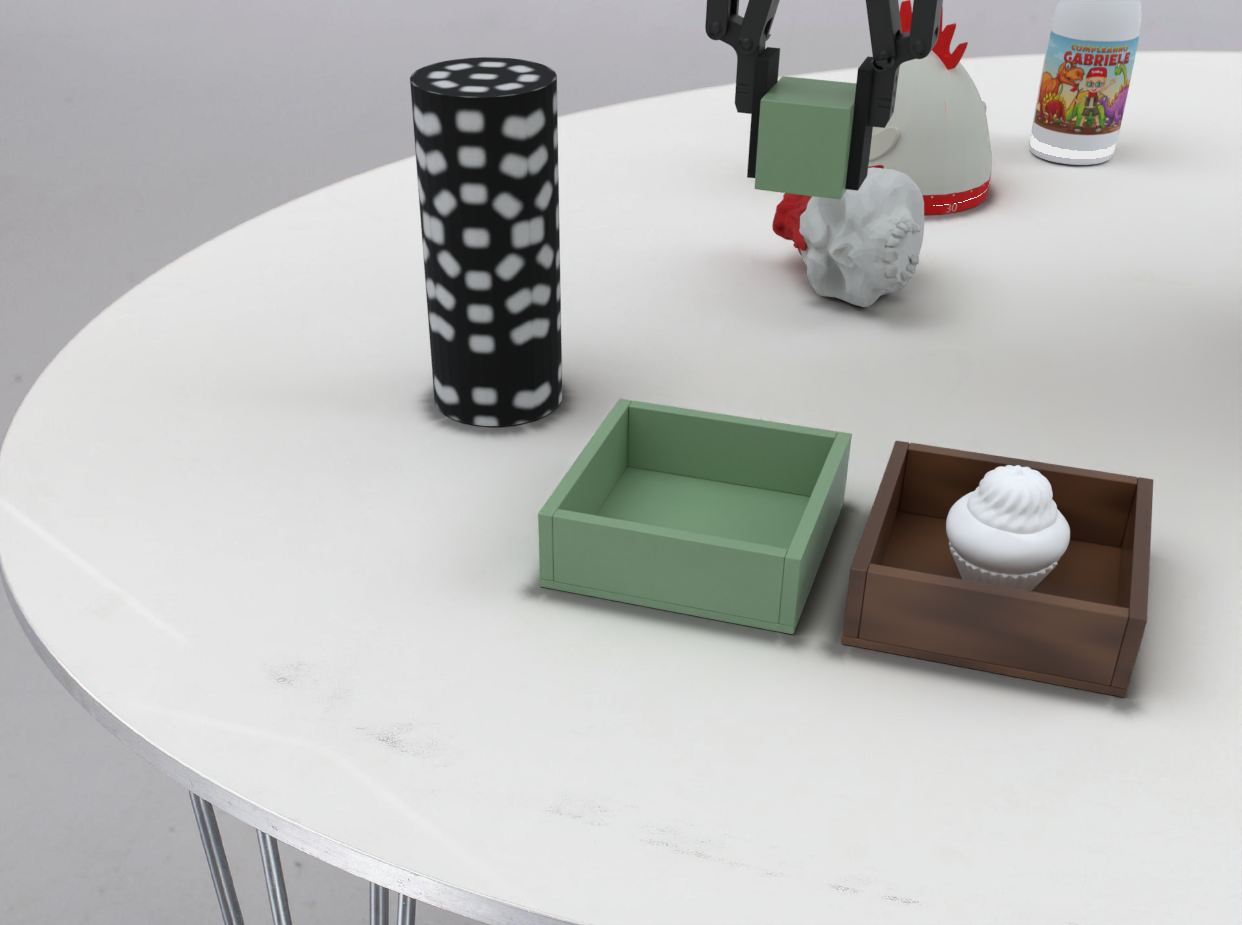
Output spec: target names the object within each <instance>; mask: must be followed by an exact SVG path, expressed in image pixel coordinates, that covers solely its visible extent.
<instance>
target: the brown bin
mask: <svg viewBox="0 0 1242 925" xmlns="http://www.w3.org/2000/svg"><path fill="white" fill-rule="evenodd" d="M1007 465H1011V466H1016V465H1019V466H1021V467H1029V468H1031V469H1032V470H1036V471H1038V472H1040V473H1041V474H1042V475H1043V476H1044V477H1045V478H1046V479H1047V480H1048V481H1049V483H1050V485H1051V488H1052V493H1053V497H1052V499H1053V501H1054V502H1055V503H1056V505H1057V509H1058V510H1059V511H1060V513H1061V514H1062V515H1063V516H1064V518H1065V519H1066V521H1067V523H1068V525H1069V528H1070V540H1069V544H1068V547H1067V549H1066V551H1065V552H1064V554H1063V555H1062V556H1061V557H1060V560H1059V561H1058V562H1057V563H1058V564H1057V566H1056V567H1055V568H1054V569H1053V570H1052V571H1051V572H1050V573H1049V574H1048V575H1047V576H1046V577H1045V578H1044V579H1043V580H1042V581H1041V582H1040V583H1039V584H1038V585H1037V586H1036V587H1035V588H1034V589H1033V590H1032V591H1025V590H1020V589H1014V588H1008V587H1002V586H997V585H991V584H985V583H979V582H974V581H968V580H963V579H962V577H961V575H960V572H959V570H958V568H957V565H956V563H955V560H954V558H953V556H952V553H951V551H950V546H949V542H950V541H949V539H948V536H947V532H946V521H947V516H948V513H949V511H950V509H951V508H952V506H953V505H954V504H955V503H956V502H957V501H958V500H959V499H961V498H962V497H963V496H965V495H967V494H968V493H970V492H973V491H975V490H976V488H977V487H979V483H980V481H981V480H982V479H983V478H984V476H985V474H986V473H988V472H989V471H991V470H995V468H997V467H1000V466H1003V467H1005V466H1007ZM1153 498H1154V479H1153V478H1149V477H1148V478H1146V477H1142V476H1134V475H1128V474H1122V473H1121V474H1120V473H1114V472H1107V471H1100V470H1096V469H1095V470H1094V469H1089V468H1080V467H1074V466H1068V465H1062V464H1057V463H1056V464H1055V463H1048V462H1043V461H1035V460H1028V459H1023V458H1022V459H1021V458H1016V457H1009V456H1002V455H1001V456H1000V455H995V454H990V453H989V454H988V453H983V452H976V451H970V450H964V449H963V450H962V449H956V448H951V447H944V446H943V447H942V446H937V445H930V444H922V443H917V442H909V441H902V440H895V441H894V444H893V447H892V449H891V452H890V455H889V458H888V461H887V464H886V467H885V469H884V472H883V475H882V477H881V481H880V483H879V486H878V489H877V492H876V494H875V498H874V501H873V504H872V506H871V510H870V512H869V515H868V518H867V520H866V524H865V527H864V530H863V532H862V535H861V538H860V540H859V544H858V546H857V550H856V551H855V552H856V553H855V555H854V558H853V561H852V563H851V566H850V569H849V570H850V571H849V578H848V586H847V593H846V602H845V610H844V618H843V624H842V625H843V626H842V635H841V642H840V644H842V645H846V646H852V647H857V648H863V649H868V650H873V651H877V652H878V651H879V652H884V653H888V654H894V655H900V656H903V657H909V658H915V659H921V660H925V661H931V662H936V663H941V664H946V665H952V666H958V667H962V668H967V669H972V670H979V671H984V672H990V673H995V674H999V675H1005V676H1010V677H1014V678H1015V677H1016V678H1020V679H1025V680H1029V681H1037V682H1043V683H1047V684H1051V685H1056V686H1057V685H1058V686H1062V687H1068V688H1073V689H1078V690H1083V691H1089V692H1095V693H1099V694H1104V695H1110V696H1115V697H1120V698H1127V695H1128V691H1129V688H1130V683H1131V680H1132V676H1133V673H1134V669H1135V666H1136V663H1137V658H1138V655H1139V651H1140V648H1141V645H1142V640H1143V637H1144V634H1145V630H1146V627H1147V624H1148V611H1149V610H1148V609H1149V608H1148V607H1149V586H1150V569H1151V568H1150V567H1151V546H1152V544H1151V543H1152V523H1153V522H1152V520H1153V500H1154V499H1153Z"/></svg>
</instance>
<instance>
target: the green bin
mask: <svg viewBox="0 0 1242 925" xmlns="http://www.w3.org/2000/svg"><path fill="white" fill-rule="evenodd" d="M852 437H853V433H851V432H844V431H837V430H830V429H824V428H817V427H810V426H804V425H798V424H797V425H796V424H790V423H786V422H785V423H784V422H778V421H771V420H764V419H758V418H751V417H746V416H745V417H744V416H740V415H739V416H738V415H731V414H724V413H720V412H719V413H717V412H713V411H705V410H698V409H692V408H687V407H686V408H685V407H679V406H671V405H665V404H659V403H653V402H646V401H645V402H644V401H641V400H639V401H638V400H631V399H627V398H618V400H617V402H616V403H615V404H614V405H613V407H612V409H611V410H610V412H609V413H608V414H607V415H606V417H605V419H604V420H602V422H601V424H600V425H599V427H598V428H597V429H596V430H595V432H594V434H593V435H592V436H591V438H590V439H589V441H588V443H587V444H586V445H585V446H584V448H583V449H582V451H581V452H580V454H579V455H578V456H577V458H576V459H575V461H574V462H573V464H572V465H571V466H570V467H569V469H568V470H567V471H566V473H565V475H564V476H563V478H562V479H561V480H560V482H559V483H558V485H557V486H556V487H555V489H554V490H553V492H552V493H551V494H550V496H549V497H548V499H547V500H546V501H545V503H544V505H543V506H542V508H540V510H539V512H538V513H537V524H538V525H537V526H538V528H537V529H538V530H537V531H538V560H539V561H538V562H539V564H538V565H539V586H540V588H547V589H551V590H557V591H560V592H561V591H563V592H567V593H571V594H576V595H577V594H578V595H582V596H583V595H584V596H587V597H588V596H589V597H594V598H599V599H604V600H609V601H613V602H614V601H615V602H619V603H625V604H631V605H635V606H636V605H637V606H641V607H645V608H652V609H657V610H661V611H662V610H663V611H667V612H672V613H678V614H682V615H687V616H693V617H698V618H699V617H700V618H704V619H710V620H714V621H719V622H724V623H725V622H726V623H730V624H736V625H737V624H738V625H740V626H741V625H742V626H746V627H751V628H756V629H762V630H767V631H772V632H777V633H784V634H789V635H794V634H795V632H796V628H797V627H798V624H799V622H800V618H801V616H802V613H803V611H804V608H805V605H806V603H807V600H808V597H809V595H810V593H811V590H812V587H813V584H814V582H815V580H816V576H817V574H818V572H819V569H820V566H821V563H822V561H823V559H824V556H825V554H826V550H827V548H828V545H829V543H830V540H831V537H832V534H833V533H834V530H835V527H836V524H837V522H838V519H839V516H840V514H841V511H842V508H843V506H844V504H845V495H846V488H847V480H848V472H849V471H848V470H849V462H850V454H851V444H852Z"/></svg>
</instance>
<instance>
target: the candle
mask: <svg viewBox="0 0 1242 925" xmlns="http://www.w3.org/2000/svg"><path fill="white" fill-rule="evenodd" d="M883 168H884V166H883V165H875V166H869V167H868V173H867V177H866V179H865V180H864V182H863V183H862V185H861V187H860V188H859V190H858V191H856V190H848V189H847V190H846V192H845V193H844V195H843V196H842V198H841V199H831V198H823V197H815V196H807V195H798V194H790V193H783V195H782V196H783V198H782V199H781V201H780V202H779V203H777V205H776V208H775V213H774V215H773V220H772V228H771V229H772V231H773V233H774V234H775V235H776V236H778V237H780V238H782V239H784V240H786V241H792V242H793V248H794V249H797V251H798V253H799V254H800V255H801V257H802V260H803V263H804V264H805V266H806V274H807V275H806V276H807V279H808V282H809V284H810V285H811V287H812V289H813V290H814V291H815V293H816V294H817V295H819V296H820V297H827V298H828V297H829V298H836V299H838V300H842V301H844V302H846V303H848V304H851V305H853V306H857V307H860V308H869V307H871V306H872V305H873V304H874V303H876V301H878V299H879V298H880V297H881V296H884V295H891V294H892V293H894V292H896V291H898V290H901V289H903V288H905V287H906V285H908V282H909V281H910V280H911V278H912V275H914V274H915V272H916V270H917V266H918V264H919V263H920V253H921V249H922V245H923V242H924V235H925V234H924V233H925V215H924V200H923V196H922V193H921V191H920V189H919V188H918V186H917V185H916V184H915V182H914V181H913V180H911V178H910V177H909V176H908V175H906V174H905V173H902V172H899V171H896V170H893V169H883Z"/></svg>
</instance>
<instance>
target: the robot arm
mask: <svg viewBox="0 0 1242 925" xmlns="http://www.w3.org/2000/svg"><path fill="white" fill-rule="evenodd" d="M780 2H781V0H748V3H747V6H746V9H745V12H744V16H742V15H740V14H739V10H740V9H739V8H740V0H706V7H705V8H706V9H705V10H706V11H705V12H706V13H705V27H704V29H705V33H706V35H707V37H708V38H709V39H710V40H712V41H721V42H723V43H725V44H726V45H728V46H730V47H731V48H732V49H733V50H734V52H735V53H736V59H737V61H736V74H735V93H734V106H735V109H736V112H737V113H740V114H748V115H750V130H749V141H748V156H747V170H746V171H747V172H746V178H747V179H748V178H749V179H755V173H756V159H757V145H758V131H759V117H760V103H761V99H762V98H763V97H764V96H765V95H766V94H767V92H768V91H769V90H770V89H771V88H772V87H773V86H774V85H775V84H776V83H777V82H778V80H779V69H780V56H781V47H771V46H766V43H767V41H768V40H769V39H770V38H771V36H772V34H771V33H770V32H771V30H772V26H773V23H774V20H775V17H776V14H777V10H778V7H779V4H780ZM912 3H913V5H912V19H911V28H910V31H908V32H905V33H902V29H901V20H900V4H899V0H865V6H866V7H865V8H866V14H867V22H868V31H869V38H870V46H871V54H872V56H867V57H866V58H865V59H864V60H863V62H862V63H861V64H860V65H859V67H858V68H857V72H856V73H857V74H856V82H855V83H856V91H855V100H854V104H855V106H854V115H853V124H852V133H851V143H850V152H849V161H848V170H847V179H846V188H845V189H848V190H856V191H858V190H859V188H860V187H861V185H862V183H863V182H864V180H865V179H866V177H867V173H868V165H869V156H870V148H871V139H872V131H873V127H880V128H885V127H886V125H887V123H888V122H889V120H890V118H891V117H892V115H893V113H894V107H895V99H896V91H897V83H898V76H899V68H900V65H901V64H902V63H904V62H906V61H909V60H913V59H923V58H925V57H927V56H928V54H929V53H930V52H931V50H932V49H933V47H934V45H935V44H936V42H937V40H938V35H939V27H940V20H941V12H942V7H943V3H944V0H913V2H912Z"/></svg>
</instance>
